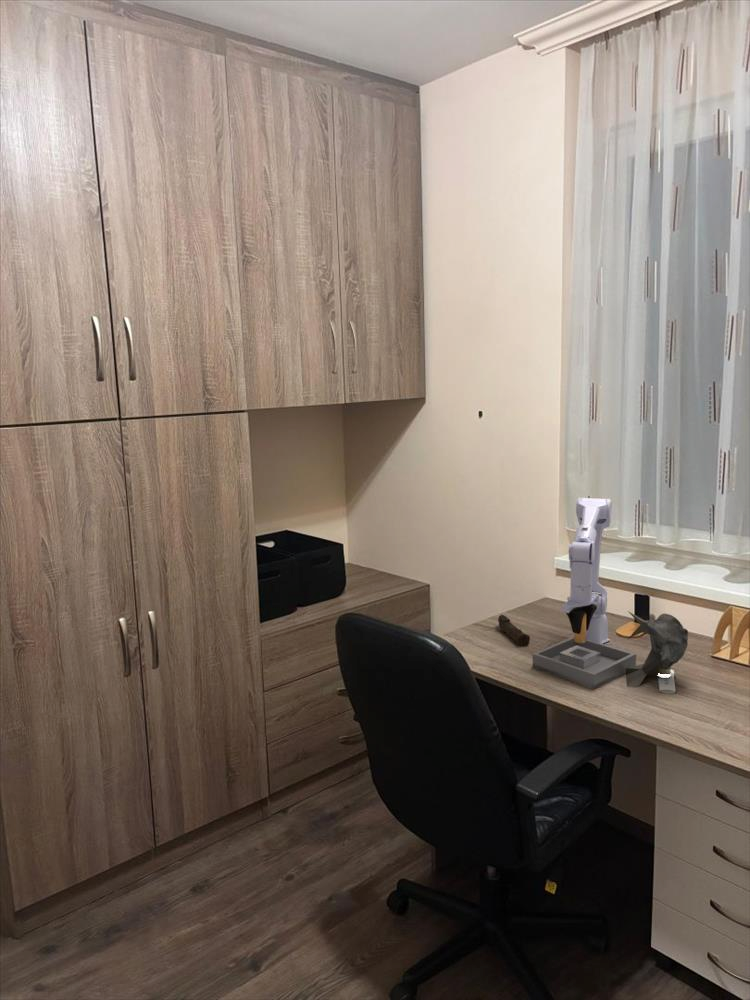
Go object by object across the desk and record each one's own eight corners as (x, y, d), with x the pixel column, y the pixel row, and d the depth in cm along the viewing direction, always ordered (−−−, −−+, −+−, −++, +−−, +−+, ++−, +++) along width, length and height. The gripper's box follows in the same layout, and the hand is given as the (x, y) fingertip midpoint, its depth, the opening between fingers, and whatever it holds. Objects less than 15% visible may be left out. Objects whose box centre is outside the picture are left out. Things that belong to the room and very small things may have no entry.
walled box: (574, 648, 224) (575, 635, 224) (635, 667, 209) (636, 653, 209) (532, 667, 212) (532, 653, 211) (594, 689, 197) (594, 674, 196)
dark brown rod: (530, 646, 228) (530, 632, 227) (517, 648, 227) (518, 633, 226) (507, 626, 246) (507, 612, 245) (495, 627, 245) (495, 613, 244)
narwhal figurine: (689, 691, 193) (692, 624, 190) (626, 686, 198) (628, 621, 194) (683, 669, 207) (686, 606, 204) (624, 665, 211) (626, 603, 208)
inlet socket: (576, 653, 218) (576, 645, 218) (600, 661, 212) (600, 652, 212) (559, 661, 213) (559, 652, 213) (583, 669, 207) (583, 660, 206)
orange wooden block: (578, 638, 214) (578, 611, 212) (588, 640, 211) (588, 613, 210) (571, 641, 212) (572, 613, 210) (582, 643, 209) (582, 616, 208)
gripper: (584, 576, 216) (583, 621, 218) (553, 587, 207) (552, 634, 209) (605, 581, 211) (604, 627, 213) (574, 592, 202) (574, 640, 204)
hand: (580, 631), depth 211 cm, fingers closed on orange wooden block, 3 cm apart
